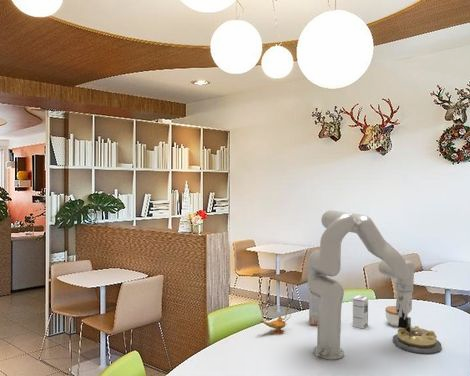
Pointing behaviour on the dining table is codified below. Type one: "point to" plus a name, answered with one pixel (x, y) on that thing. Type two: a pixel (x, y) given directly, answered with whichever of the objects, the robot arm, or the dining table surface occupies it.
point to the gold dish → (416, 336)
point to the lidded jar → (392, 315)
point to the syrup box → (360, 311)
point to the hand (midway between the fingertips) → (402, 327)
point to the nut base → (417, 350)
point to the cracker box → (313, 308)
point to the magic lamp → (277, 324)
